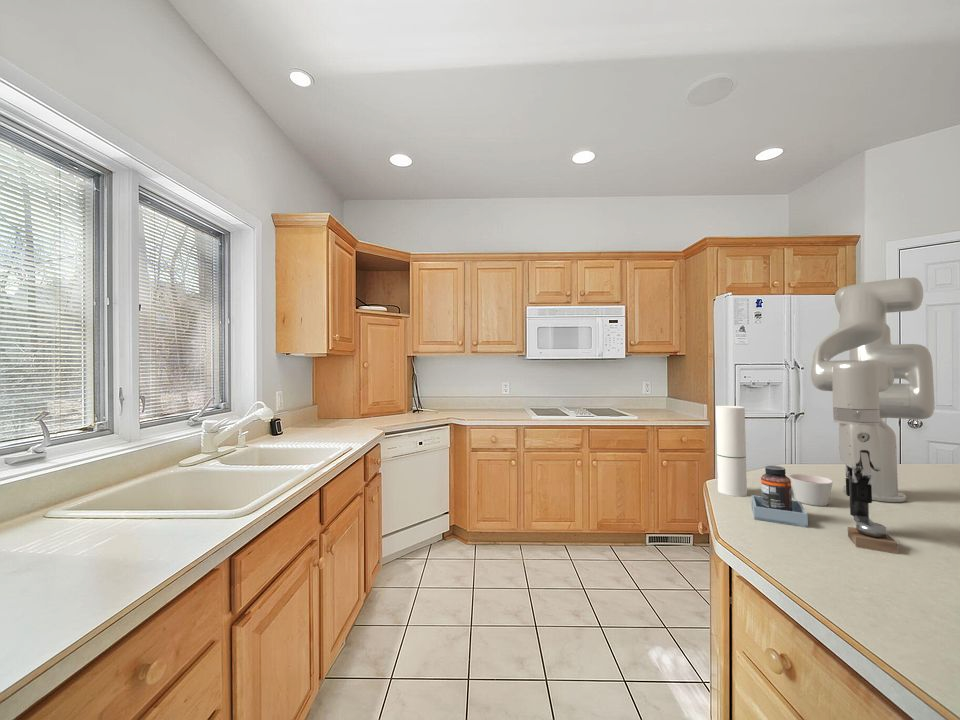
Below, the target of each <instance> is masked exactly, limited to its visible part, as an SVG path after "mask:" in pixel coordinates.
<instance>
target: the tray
mask: <svg viewBox="0 0 960 720" xmlns="http://www.w3.org/2000/svg"><path fill="white" fill-rule="evenodd" d="M750 499H751V500H750V502H751V503H750V504H751V511H752V515H753V519H754V520H757V521H762V522H763V521H764V522H770V523H775V524H782V525H790V526H795V527H801V528H808V527H809V525H808V523H809V522H808V521H809V519H808V518H809V517H808V513H807V511H806V510H805V508H804V506H803V503H801V502H800V501H796V500H793V499H792V511H785V510H778V509H771V508H764V507H762V495H761V496H760V495H754V494H753V495H752V494H751V496H750Z"/></svg>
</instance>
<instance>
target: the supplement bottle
mask: <svg viewBox="0 0 960 720" xmlns="http://www.w3.org/2000/svg"><path fill="white" fill-rule="evenodd" d="M764 469H765V470H764V471H765V473H764V474H762V475H761V477H760V479H761V480H760V481H761V482H760V483H761V484H760V485H761V496H762V507H764V508H771V509H778V510H785V511H792V500H793V499H792V497H793V496H792V495H793V492H792V486H791V480H790V477H789V476H787V475H786V468H785V467H783V466H778V465H766V466H765V467H764Z"/></svg>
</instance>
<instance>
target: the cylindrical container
mask: <svg viewBox="0 0 960 720" xmlns="http://www.w3.org/2000/svg"><path fill="white" fill-rule="evenodd" d="M745 408H746V407H745V406H742V405H741V406H740V405H715V424H716V425H715V426H716V466H717V468H716V469H717V472H716V473H717V491H718V493H719V494H722V495H726V496H730V497H746V496H747V495H748V488H747V487H748V485H747V484H748V482H747V481H748V479H747V451H746V450H747V449H746V448H747V447H746V441H747V440H746V418H745V417H746V415H745V414H746V411H745Z"/></svg>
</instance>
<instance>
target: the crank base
mask: <svg viewBox="0 0 960 720" xmlns="http://www.w3.org/2000/svg"><path fill="white" fill-rule="evenodd" d="M886 534H887V536H886V537H874V536H869V535H865V534H862V533H860V532H858V531H857V530H856V527H853V526H847V536H848V538H849V540H850V541H851V542H852V543H853V545H854V544H855V545H854V546H855V547H856V548H860V547H862V549H866V548H867V550H872V551H879V552H886V553H892V554H897V555H898V554H899V553H898V549H899V548H898V542H897V541H896V540H894V538H893V537H892V536H890V534H889V533H888V532H886Z"/></svg>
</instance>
